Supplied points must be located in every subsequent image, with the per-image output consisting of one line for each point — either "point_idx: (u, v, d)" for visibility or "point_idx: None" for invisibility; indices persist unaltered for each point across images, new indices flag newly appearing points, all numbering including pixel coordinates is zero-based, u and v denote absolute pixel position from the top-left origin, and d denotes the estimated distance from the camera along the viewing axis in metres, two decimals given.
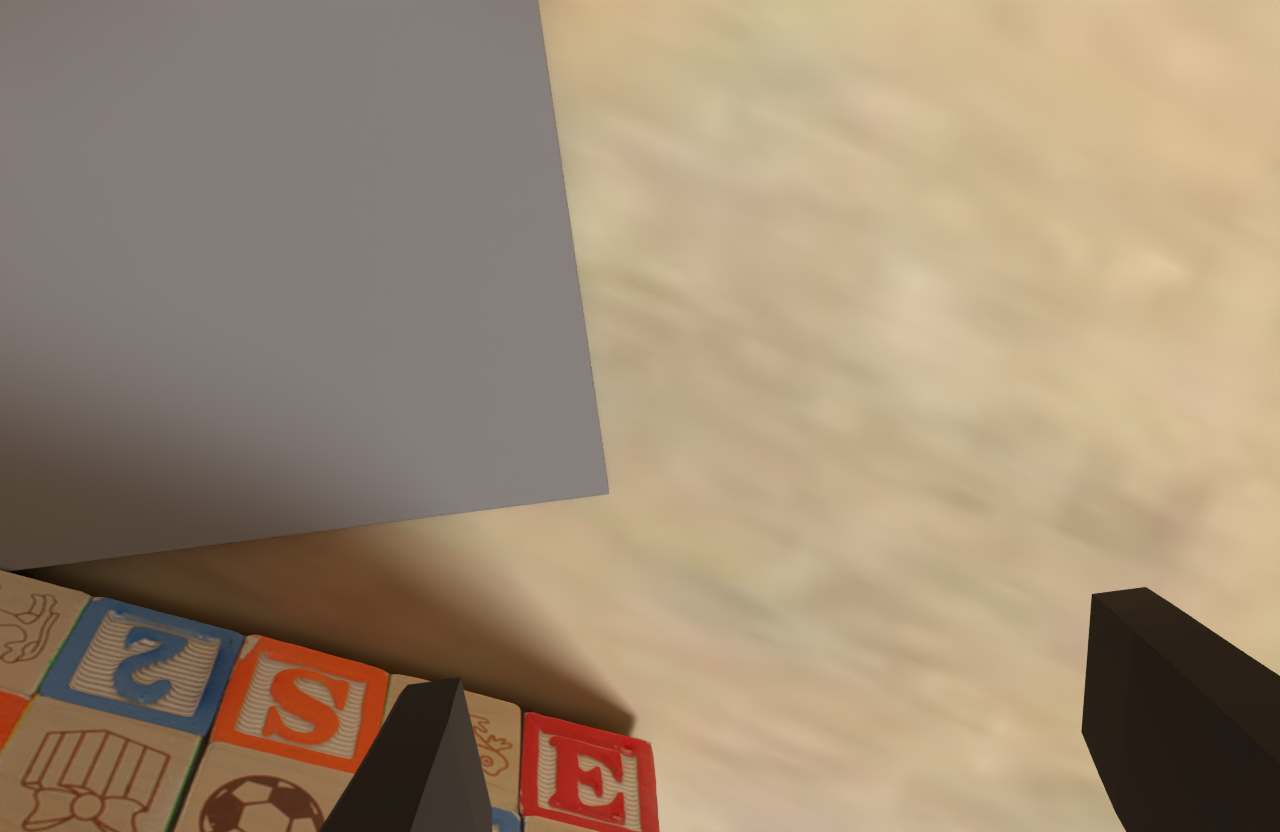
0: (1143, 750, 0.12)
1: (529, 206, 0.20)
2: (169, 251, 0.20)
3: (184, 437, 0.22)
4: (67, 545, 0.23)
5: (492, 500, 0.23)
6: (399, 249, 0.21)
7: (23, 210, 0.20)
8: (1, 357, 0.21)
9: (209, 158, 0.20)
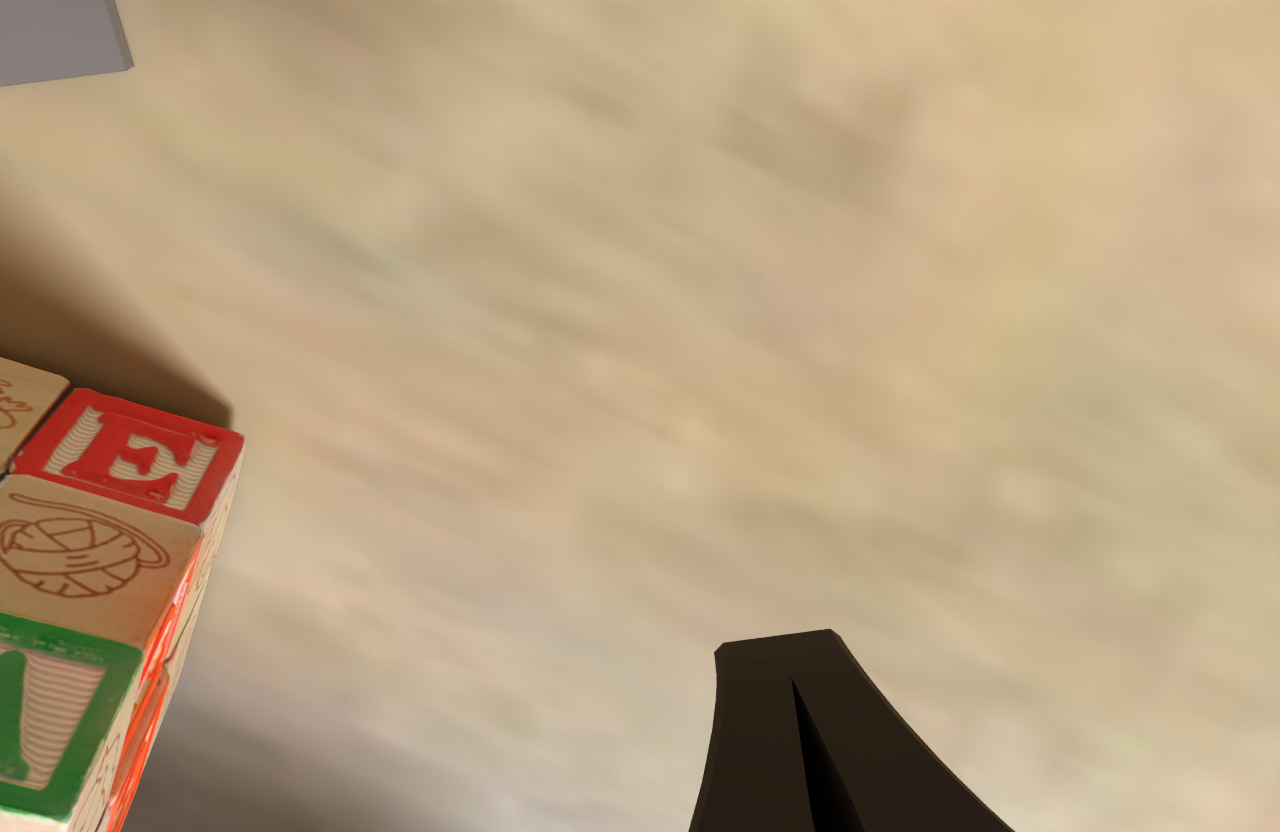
0: (808, 795, 0.12)
1: None
2: None
3: None
4: None
5: None
6: None
7: None
8: None
9: None
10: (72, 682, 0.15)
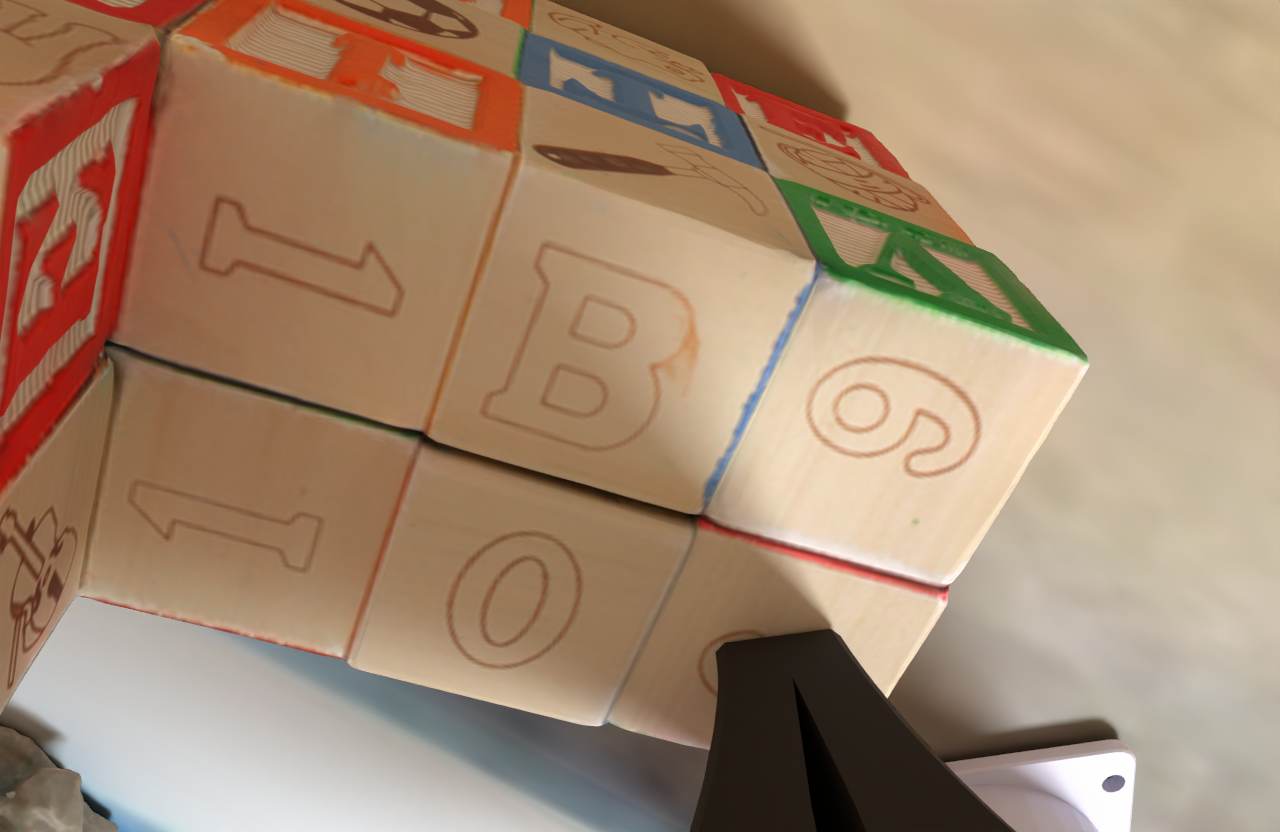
0: None
1: None
2: None
3: None
4: None
5: None
6: None
7: None
8: None
9: None
10: (962, 267, 0.13)
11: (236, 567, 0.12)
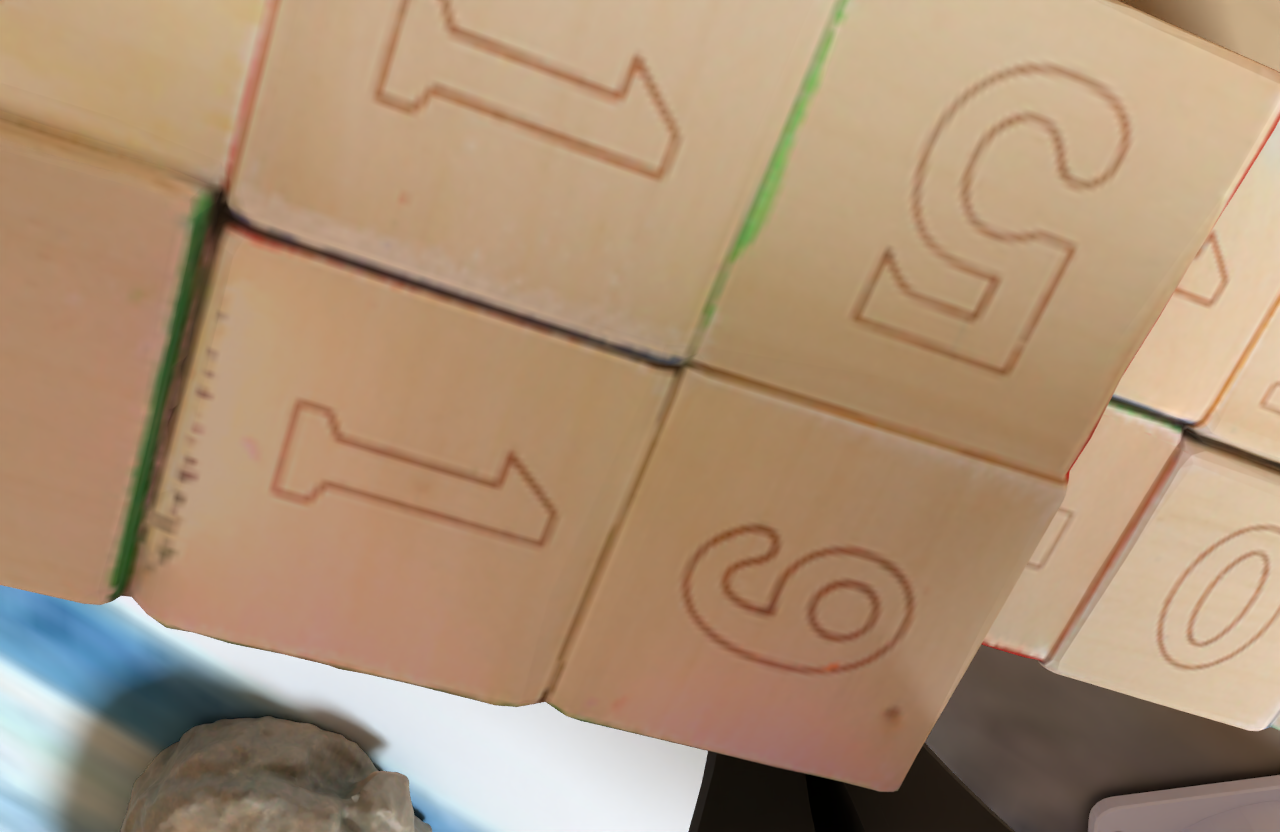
0: (808, 795, 0.12)
1: None
2: None
3: None
4: None
5: None
6: None
7: None
8: None
9: None
10: None
11: None
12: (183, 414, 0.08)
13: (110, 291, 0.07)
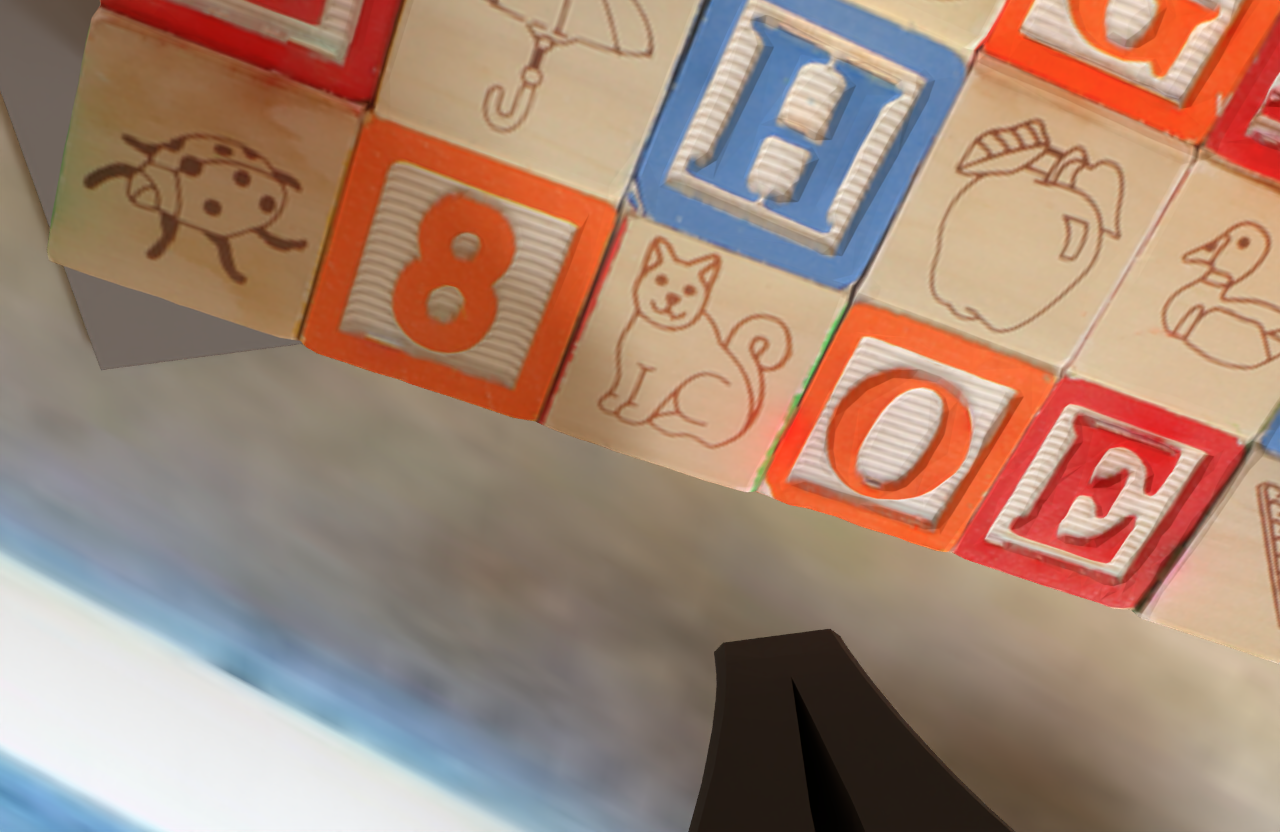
0: (807, 795, 0.12)
1: None
2: None
3: None
4: None
5: None
6: None
7: None
8: None
9: None
10: None
11: None
12: None
13: None
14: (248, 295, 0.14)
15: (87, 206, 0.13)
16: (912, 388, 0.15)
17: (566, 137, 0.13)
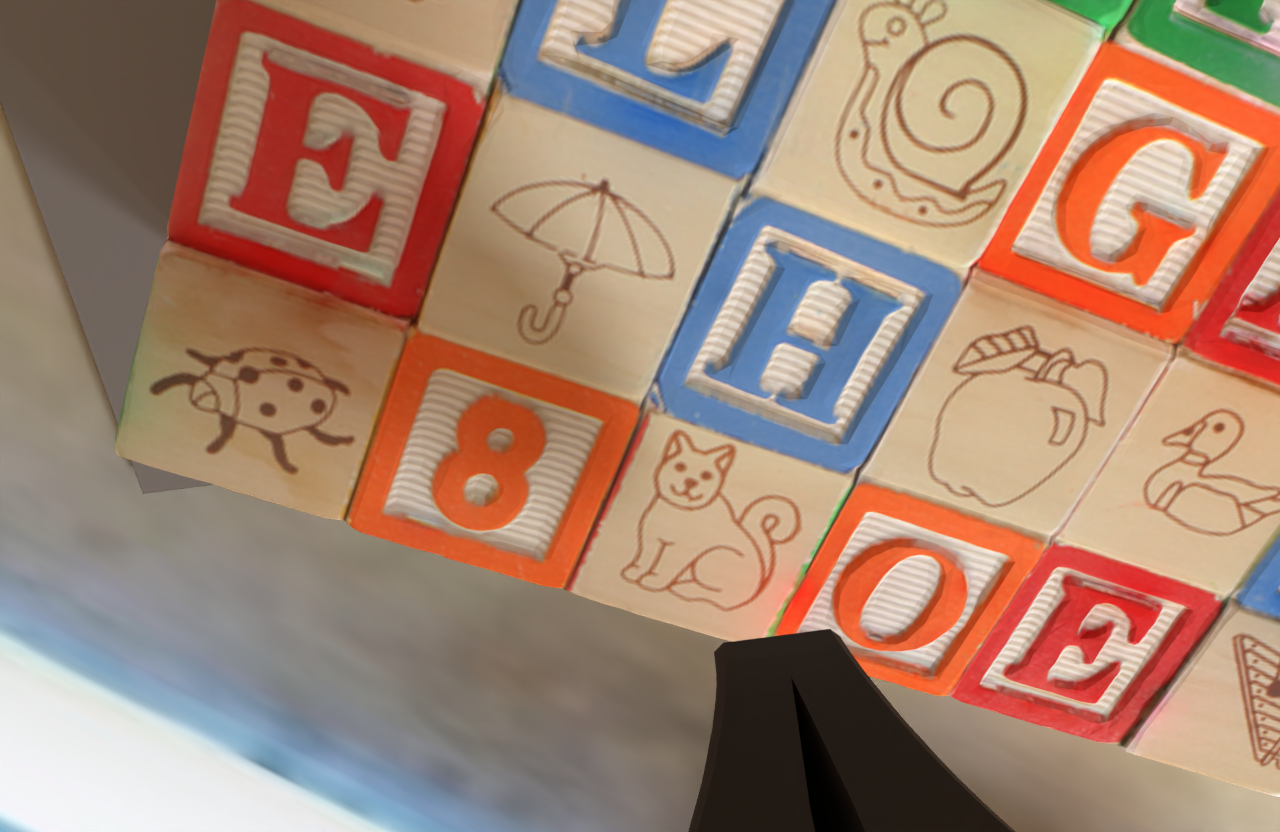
0: (808, 795, 0.12)
1: None
2: None
3: None
4: None
5: None
6: None
7: None
8: None
9: None
10: None
11: None
12: None
13: None
14: (299, 483, 0.15)
15: (152, 409, 0.14)
16: (912, 555, 0.16)
17: (593, 348, 0.14)
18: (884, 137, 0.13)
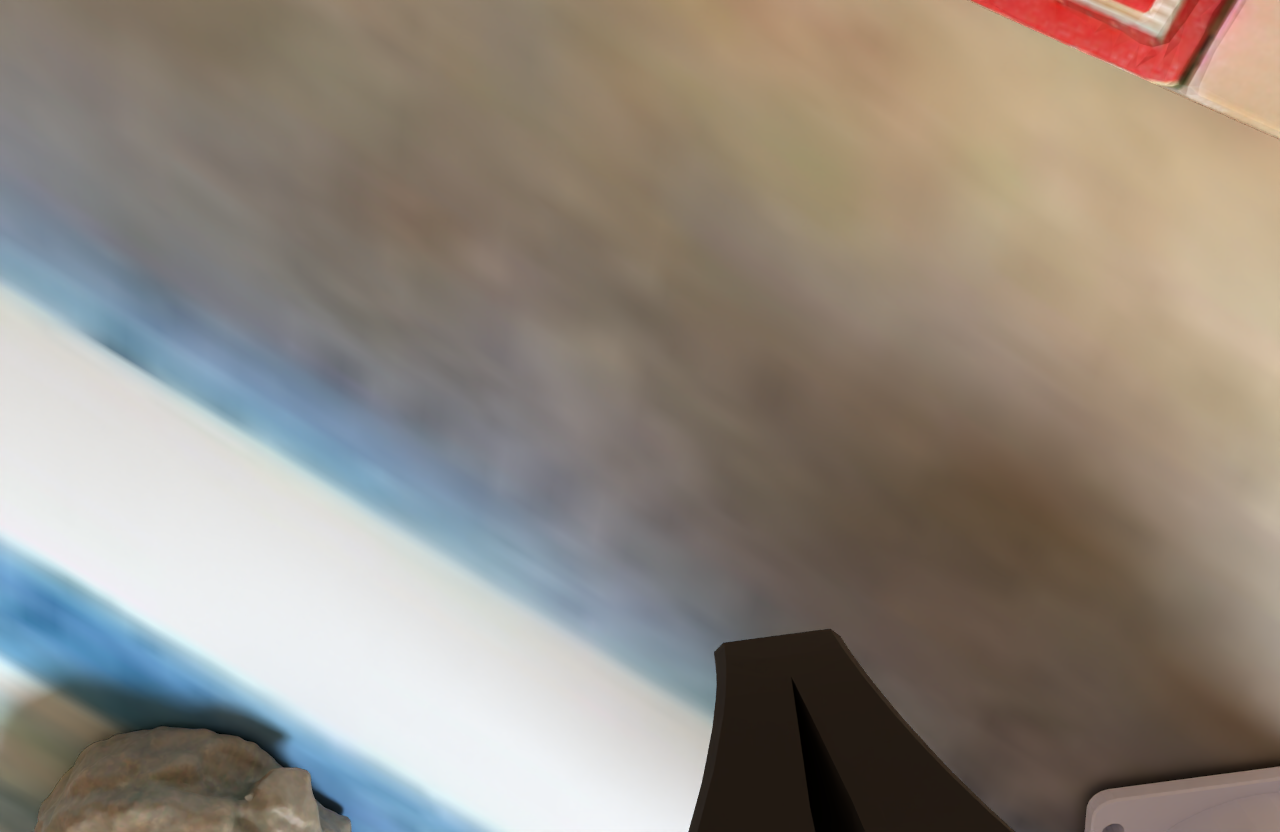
0: (808, 795, 0.12)
1: None
2: None
3: None
4: None
5: None
6: None
7: None
8: None
9: None
10: None
11: None
12: None
13: None
14: None
15: None
16: None
17: None
18: None
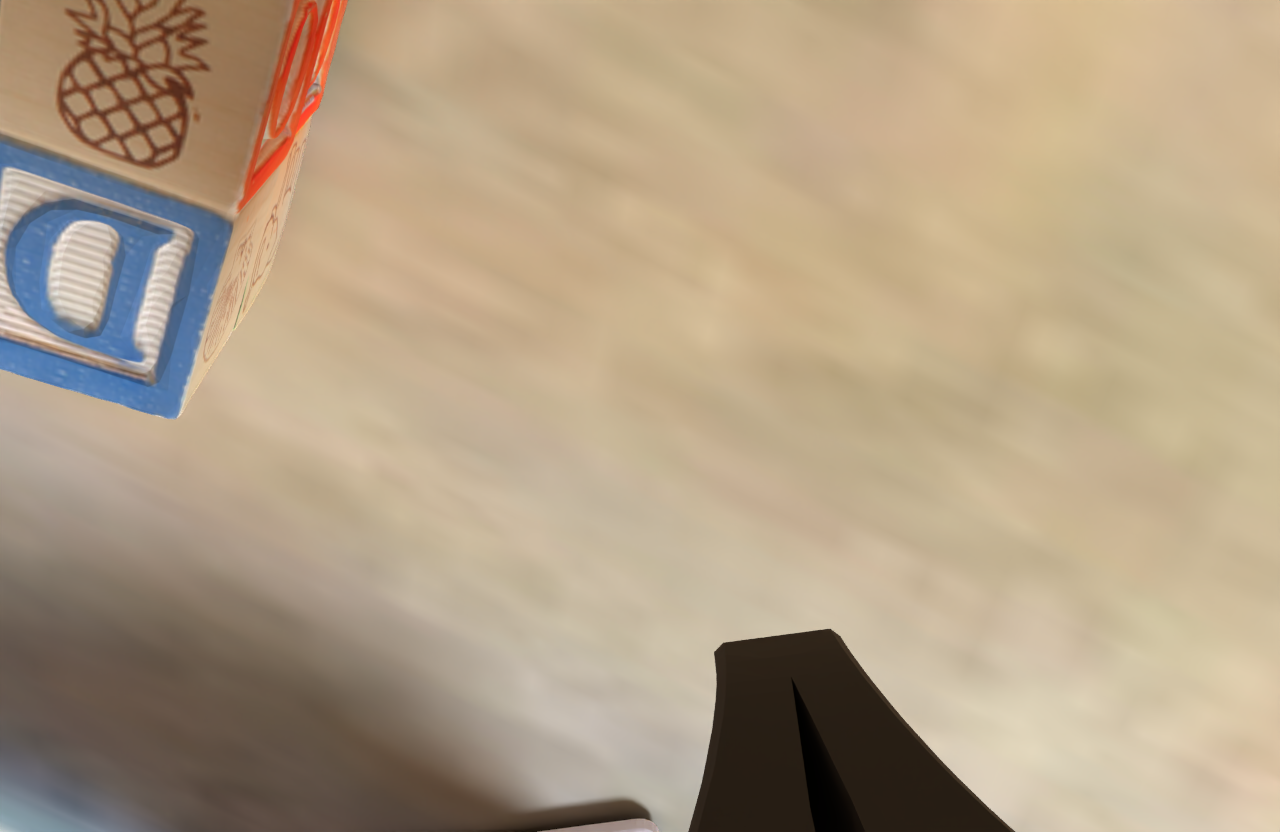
0: (808, 795, 0.12)
1: None
2: None
3: None
4: None
5: None
6: None
7: None
8: None
9: None
10: None
11: None
12: None
13: None
14: None
15: None
16: None
17: None
18: None
